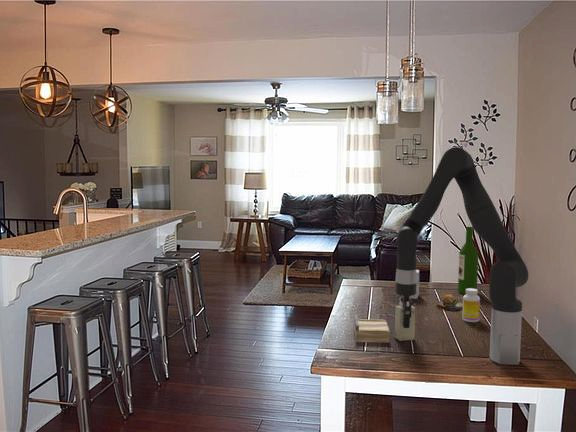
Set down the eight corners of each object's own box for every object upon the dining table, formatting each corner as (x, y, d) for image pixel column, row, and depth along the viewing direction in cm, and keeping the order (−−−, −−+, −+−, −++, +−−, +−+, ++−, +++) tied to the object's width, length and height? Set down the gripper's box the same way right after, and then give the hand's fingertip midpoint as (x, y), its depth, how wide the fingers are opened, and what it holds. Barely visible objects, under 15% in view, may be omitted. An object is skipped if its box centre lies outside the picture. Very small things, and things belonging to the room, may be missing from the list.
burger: (469, 309, 241) (470, 292, 240) (447, 312, 237) (448, 295, 236) (452, 302, 252) (452, 286, 251) (430, 305, 248) (431, 289, 247)
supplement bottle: (480, 323, 220) (481, 291, 219) (463, 322, 221) (464, 291, 220) (478, 318, 227) (479, 288, 225) (461, 317, 228) (462, 287, 227)
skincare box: (399, 341, 199) (400, 308, 197) (393, 337, 203) (394, 305, 202) (415, 339, 200) (416, 307, 199) (409, 336, 205) (410, 304, 203)
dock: (389, 342, 197) (389, 326, 196) (355, 341, 198) (356, 325, 197) (385, 330, 211) (385, 315, 210) (354, 329, 212) (354, 314, 211)
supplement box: (417, 299, 258) (418, 272, 256) (401, 297, 260) (402, 271, 258) (419, 295, 265) (419, 269, 263) (403, 294, 267) (404, 268, 265)
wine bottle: (454, 291, 273) (456, 226, 269) (469, 289, 275) (471, 225, 272) (465, 295, 264) (467, 228, 261) (480, 294, 267) (483, 227, 263)
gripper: (419, 285, 192) (418, 330, 194) (413, 276, 206) (412, 318, 208) (397, 285, 193) (396, 330, 195) (393, 276, 207) (392, 318, 209)
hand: (404, 324), depth 201 cm, fingers open, 8 cm apart
